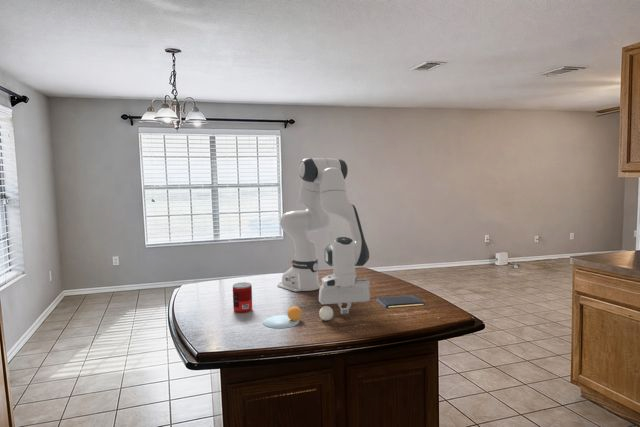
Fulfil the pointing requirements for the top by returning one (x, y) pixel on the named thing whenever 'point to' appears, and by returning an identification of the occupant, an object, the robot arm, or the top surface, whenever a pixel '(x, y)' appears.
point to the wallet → (400, 301)
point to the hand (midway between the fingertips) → (344, 313)
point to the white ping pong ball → (326, 313)
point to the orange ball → (294, 313)
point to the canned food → (242, 297)
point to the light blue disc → (279, 322)
